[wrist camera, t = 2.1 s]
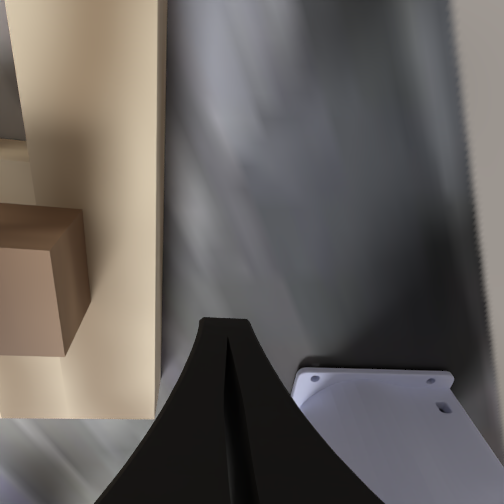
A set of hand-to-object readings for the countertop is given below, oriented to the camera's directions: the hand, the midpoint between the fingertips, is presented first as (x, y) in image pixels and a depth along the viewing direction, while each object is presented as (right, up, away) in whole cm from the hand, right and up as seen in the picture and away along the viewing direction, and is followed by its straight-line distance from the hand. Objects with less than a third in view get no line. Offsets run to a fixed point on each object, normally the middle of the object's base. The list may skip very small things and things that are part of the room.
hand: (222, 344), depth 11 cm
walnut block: (-7, +3, +3) cm, 8 cm away
